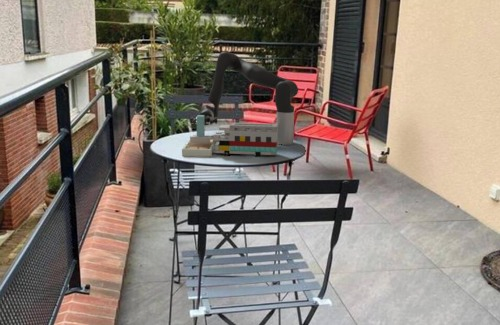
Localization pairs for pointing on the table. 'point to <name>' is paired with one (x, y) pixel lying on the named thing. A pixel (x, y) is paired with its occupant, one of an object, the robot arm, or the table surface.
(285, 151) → the table surface
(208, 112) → the robot arm
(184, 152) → the tray
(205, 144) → the board
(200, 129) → the tall teal pillar block
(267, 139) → the toy vehicle
